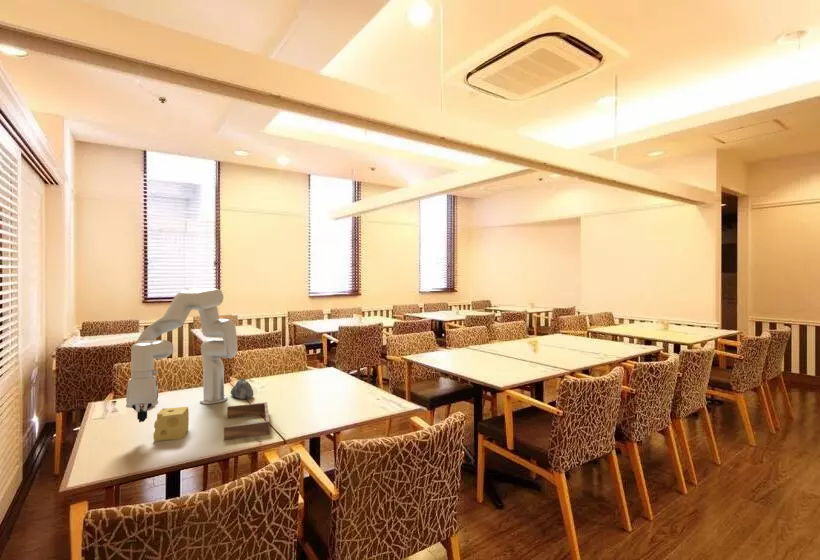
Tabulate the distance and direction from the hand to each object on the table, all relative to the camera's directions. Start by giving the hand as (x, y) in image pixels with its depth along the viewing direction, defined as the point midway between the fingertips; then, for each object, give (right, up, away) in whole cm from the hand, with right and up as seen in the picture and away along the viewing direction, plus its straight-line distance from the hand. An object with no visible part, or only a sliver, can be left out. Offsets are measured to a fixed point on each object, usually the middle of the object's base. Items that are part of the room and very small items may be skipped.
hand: (142, 420), depth 160 cm
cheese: (+9, -8, +4) cm, 13 cm away
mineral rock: (+17, -7, +55) cm, 58 cm away
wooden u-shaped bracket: (+35, -7, +15) cm, 39 cm away
